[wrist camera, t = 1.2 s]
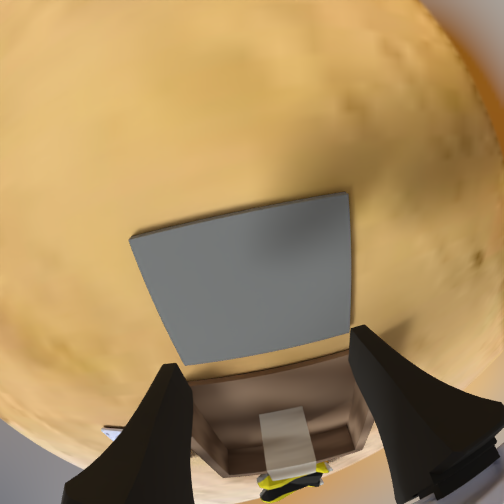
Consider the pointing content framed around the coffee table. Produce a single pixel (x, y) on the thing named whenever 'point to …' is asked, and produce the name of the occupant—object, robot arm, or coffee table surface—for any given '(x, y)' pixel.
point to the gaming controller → (290, 483)
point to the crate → (276, 399)
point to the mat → (251, 278)
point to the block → (287, 444)
